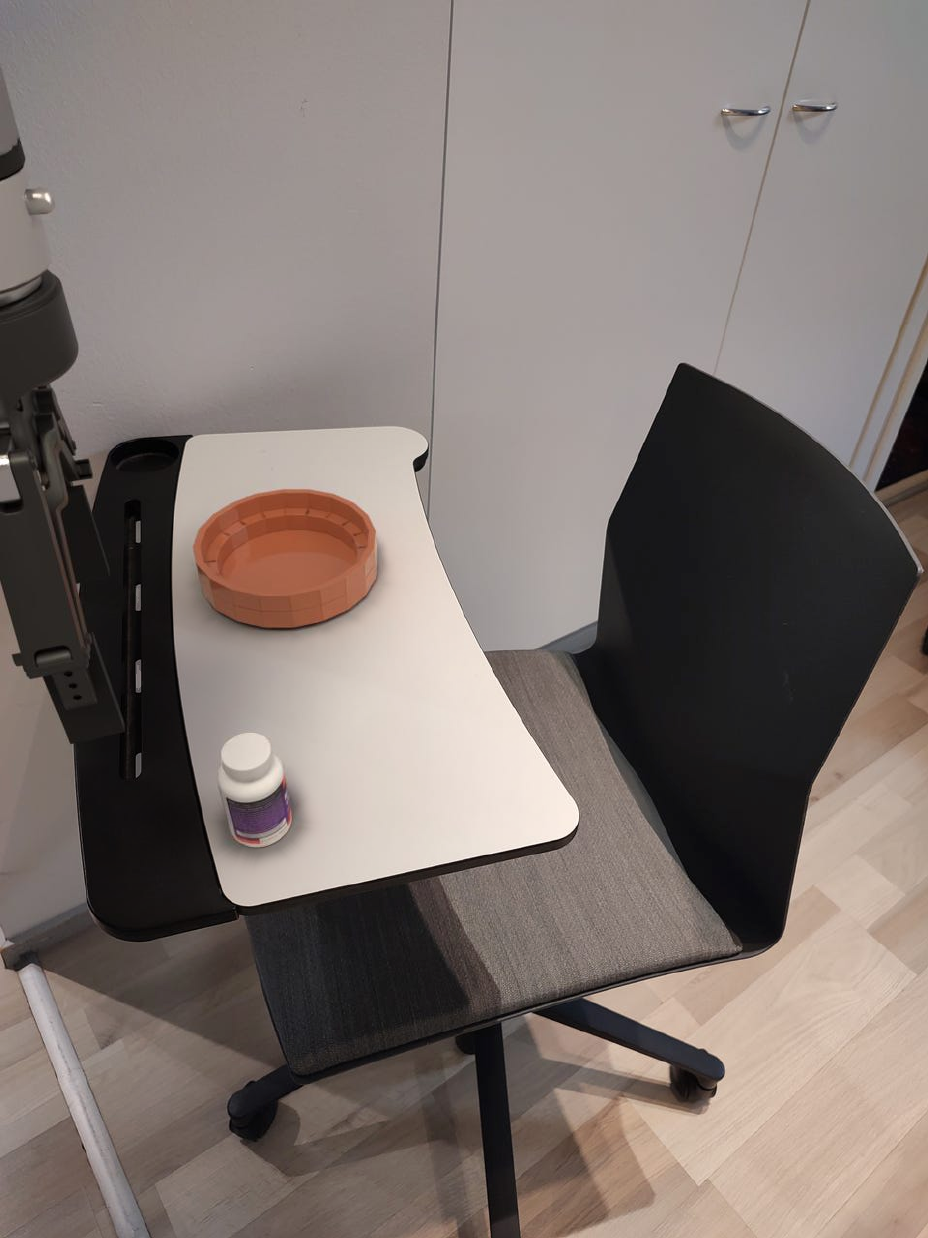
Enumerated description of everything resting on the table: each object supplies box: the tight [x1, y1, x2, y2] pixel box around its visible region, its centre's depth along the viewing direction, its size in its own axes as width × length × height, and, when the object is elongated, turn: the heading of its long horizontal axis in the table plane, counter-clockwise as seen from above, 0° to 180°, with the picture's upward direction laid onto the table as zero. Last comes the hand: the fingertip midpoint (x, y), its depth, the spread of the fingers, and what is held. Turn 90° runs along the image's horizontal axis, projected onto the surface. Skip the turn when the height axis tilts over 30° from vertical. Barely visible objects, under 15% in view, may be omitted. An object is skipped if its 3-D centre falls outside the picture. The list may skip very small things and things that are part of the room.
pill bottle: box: [217, 732, 293, 848], centre depth 64 cm, size 5×5×8 cm
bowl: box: [192, 488, 378, 628], centre depth 88 cm, size 17×17×4 cm
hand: (92, 649), depth 51 cm, fingers open, 13 cm apart
